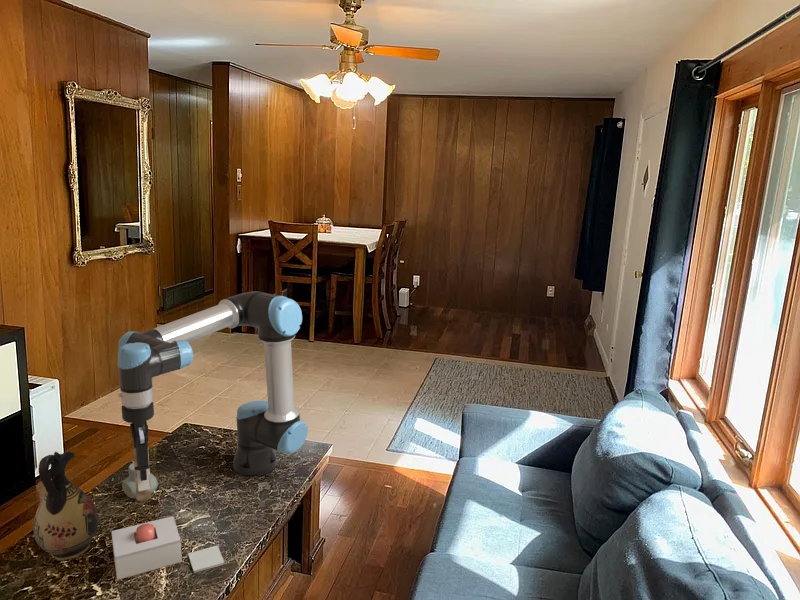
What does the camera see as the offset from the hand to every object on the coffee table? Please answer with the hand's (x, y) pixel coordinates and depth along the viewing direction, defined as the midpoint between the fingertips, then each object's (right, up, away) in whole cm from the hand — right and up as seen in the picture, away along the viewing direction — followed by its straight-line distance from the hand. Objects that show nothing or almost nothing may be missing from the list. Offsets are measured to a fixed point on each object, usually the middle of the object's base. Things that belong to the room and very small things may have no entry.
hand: (143, 485), depth 159 cm
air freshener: (-16, -14, +35) cm, 41 cm away
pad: (+15, -22, +5) cm, 27 cm away
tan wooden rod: (0, -3, +1) cm, 4 cm away
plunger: (-1, -17, +4) cm, 18 cm away
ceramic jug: (-23, -20, +6) cm, 32 cm away
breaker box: (-1, -21, +5) cm, 22 cm away
